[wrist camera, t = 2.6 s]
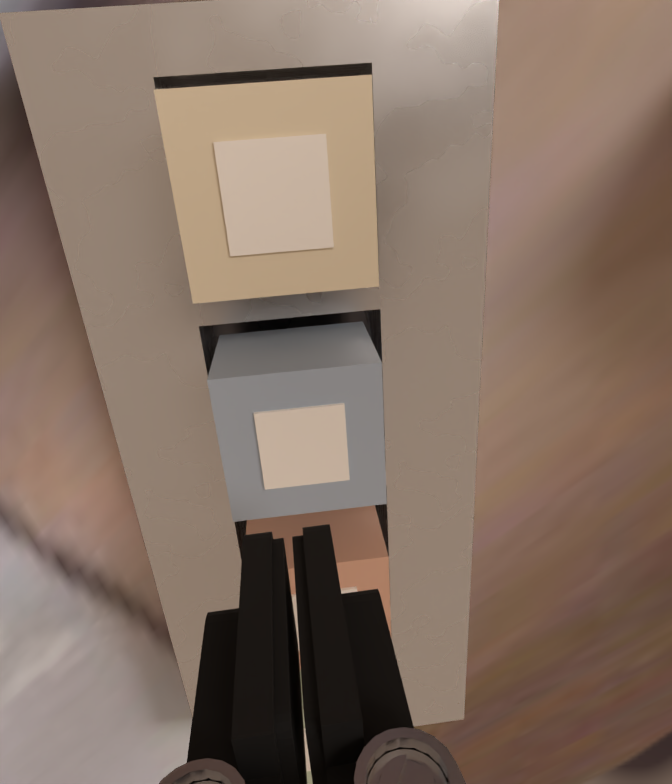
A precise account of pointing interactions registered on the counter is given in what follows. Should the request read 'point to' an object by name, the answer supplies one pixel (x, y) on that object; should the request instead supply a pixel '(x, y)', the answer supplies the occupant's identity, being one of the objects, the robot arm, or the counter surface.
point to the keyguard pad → (211, 319)
